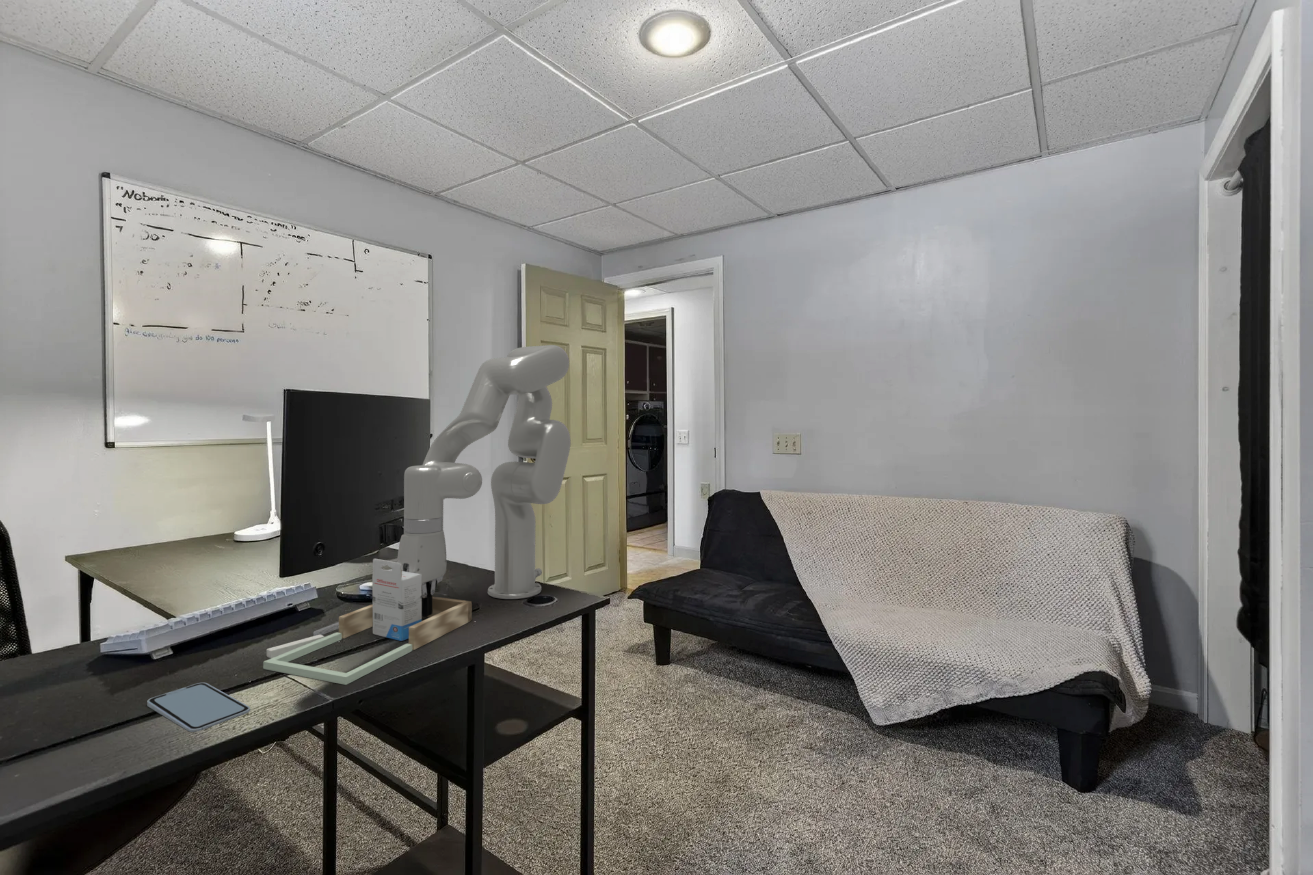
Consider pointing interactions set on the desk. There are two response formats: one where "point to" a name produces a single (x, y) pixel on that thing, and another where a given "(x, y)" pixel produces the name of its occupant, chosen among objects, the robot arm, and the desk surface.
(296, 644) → the stick
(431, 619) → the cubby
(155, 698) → the smartphone
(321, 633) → the crook tool
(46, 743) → the desk surface
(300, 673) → the frame
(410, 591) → the ink box
